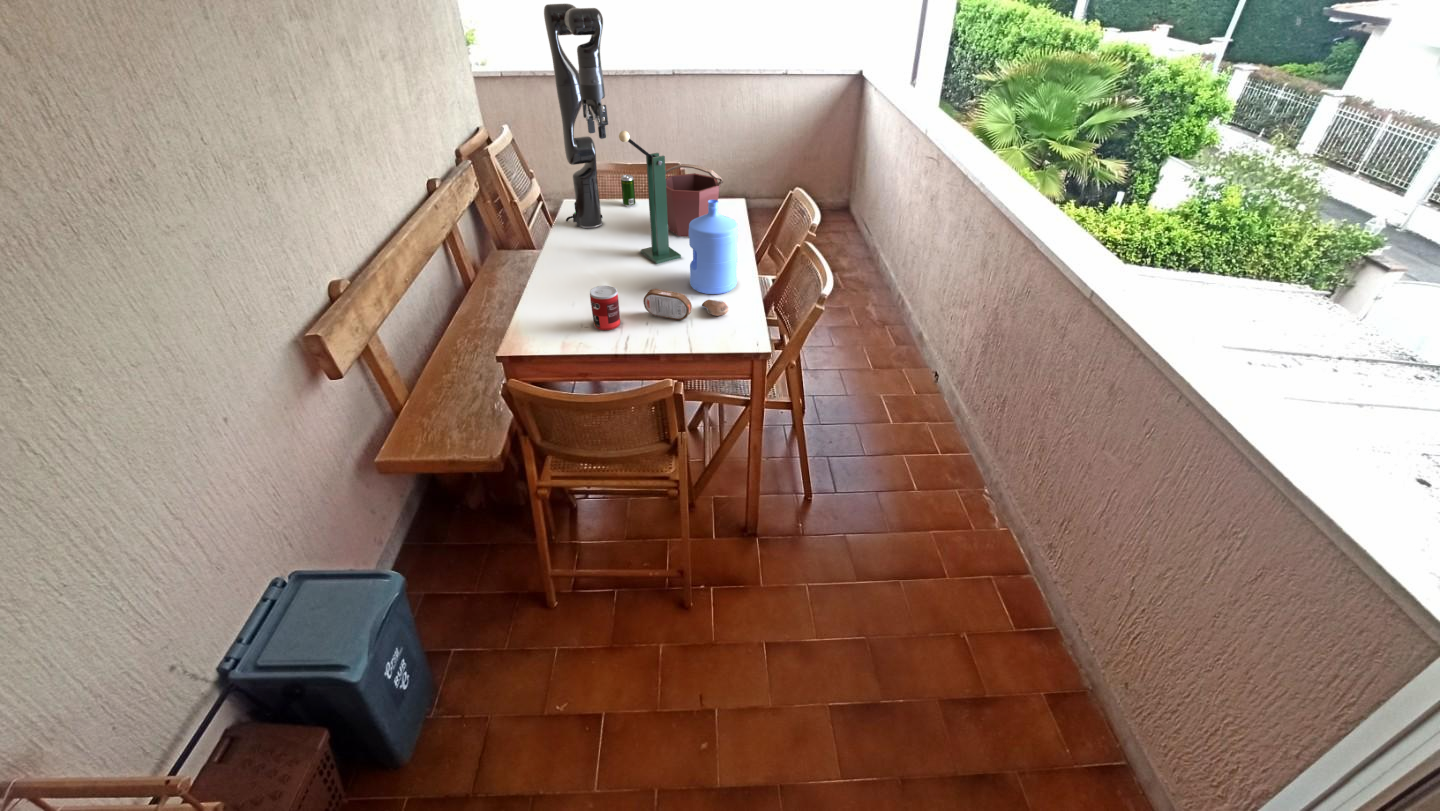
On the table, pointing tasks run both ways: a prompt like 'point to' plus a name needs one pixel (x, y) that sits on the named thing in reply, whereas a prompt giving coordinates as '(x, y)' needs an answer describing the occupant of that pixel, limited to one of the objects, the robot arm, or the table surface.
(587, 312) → the table surface
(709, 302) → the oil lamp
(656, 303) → the tin
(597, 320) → the canned food
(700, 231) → the water jug
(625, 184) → the beer can
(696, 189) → the bucket
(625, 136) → the lever
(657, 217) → the green upright stand
